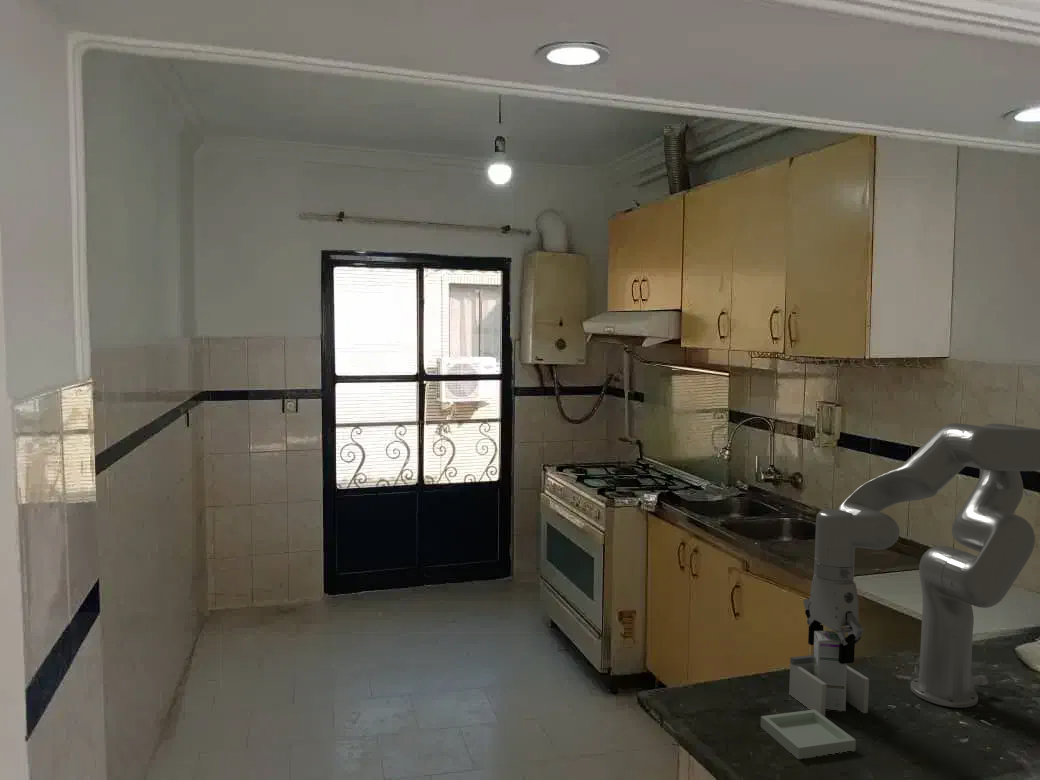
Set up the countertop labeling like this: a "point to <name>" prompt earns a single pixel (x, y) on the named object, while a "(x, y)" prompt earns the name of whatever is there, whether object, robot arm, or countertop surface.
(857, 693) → the bay
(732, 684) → the countertop surface
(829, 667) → the syrup box
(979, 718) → the countertop surface
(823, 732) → the tray
